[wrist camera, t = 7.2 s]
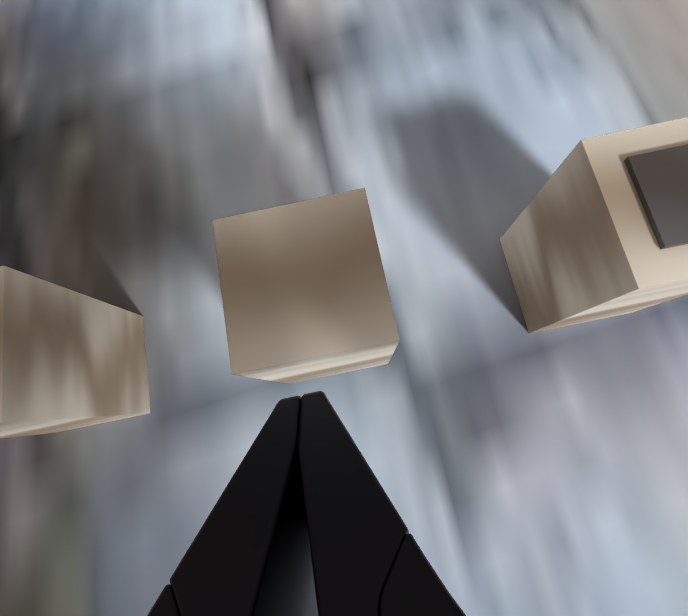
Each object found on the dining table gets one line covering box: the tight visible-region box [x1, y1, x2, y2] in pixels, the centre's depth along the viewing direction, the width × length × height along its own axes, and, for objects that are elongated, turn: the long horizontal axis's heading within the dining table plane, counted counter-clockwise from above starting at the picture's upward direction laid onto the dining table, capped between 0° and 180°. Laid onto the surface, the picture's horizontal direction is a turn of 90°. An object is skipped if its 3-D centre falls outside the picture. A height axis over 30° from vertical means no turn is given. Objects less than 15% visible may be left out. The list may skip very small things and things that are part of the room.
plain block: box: [213, 188, 399, 384], centre depth 16 cm, size 5×5×8 cm
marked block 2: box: [0, 266, 150, 438], centre depth 16 cm, size 5×5×8 cm
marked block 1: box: [500, 117, 688, 333], centre depth 16 cm, size 5×5×8 cm
